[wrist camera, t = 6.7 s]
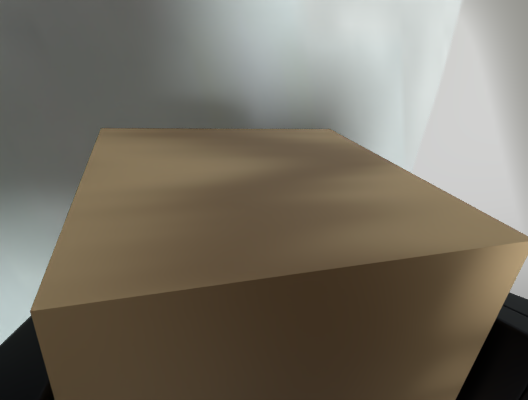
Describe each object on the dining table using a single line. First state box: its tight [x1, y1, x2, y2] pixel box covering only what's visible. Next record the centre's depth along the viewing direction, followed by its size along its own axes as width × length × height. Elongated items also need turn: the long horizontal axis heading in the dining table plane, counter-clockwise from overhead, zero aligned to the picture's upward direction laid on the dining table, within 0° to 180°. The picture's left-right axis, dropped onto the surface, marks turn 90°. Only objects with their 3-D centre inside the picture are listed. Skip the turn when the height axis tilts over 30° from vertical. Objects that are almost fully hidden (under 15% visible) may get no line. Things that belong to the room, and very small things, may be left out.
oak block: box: [30, 128, 528, 400], centre depth 8 cm, size 6×6×6 cm
